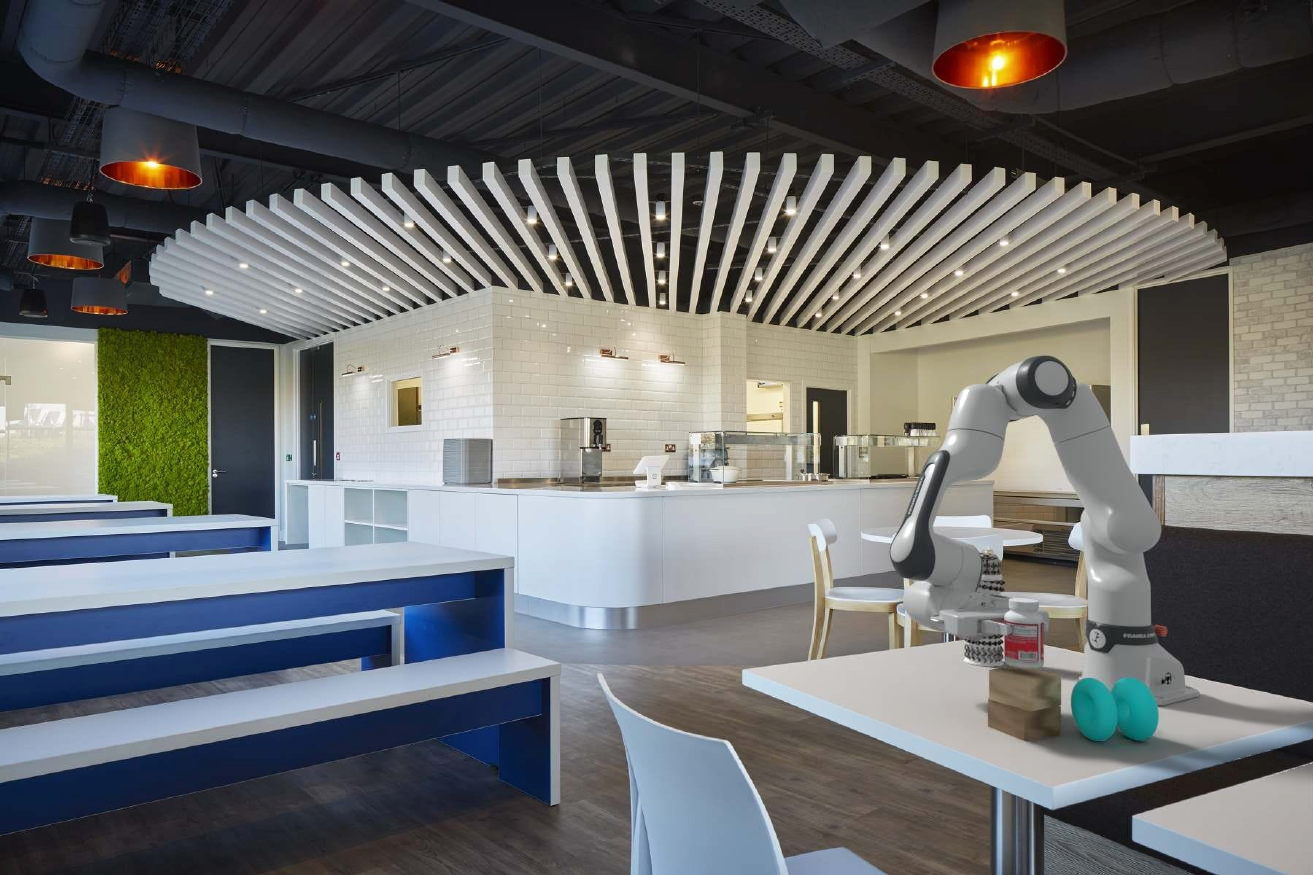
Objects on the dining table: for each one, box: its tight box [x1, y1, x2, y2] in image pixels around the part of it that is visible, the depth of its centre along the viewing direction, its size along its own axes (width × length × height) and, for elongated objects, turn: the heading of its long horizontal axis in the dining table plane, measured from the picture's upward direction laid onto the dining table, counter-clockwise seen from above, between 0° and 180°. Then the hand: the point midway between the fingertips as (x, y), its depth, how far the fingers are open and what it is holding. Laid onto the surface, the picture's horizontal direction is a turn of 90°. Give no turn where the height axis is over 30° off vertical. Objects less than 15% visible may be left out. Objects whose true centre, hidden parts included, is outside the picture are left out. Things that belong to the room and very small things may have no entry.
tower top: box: [988, 666, 1062, 712], centre depth 141 cm, size 8×8×5 cm
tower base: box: [987, 697, 1062, 742], centre depth 141 cm, size 8×8×5 cm
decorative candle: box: [963, 552, 1006, 668], centre depth 192 cm, size 9×9×25 cm
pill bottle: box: [1003, 597, 1045, 669], centre depth 141 cm, size 6×6×11 cm
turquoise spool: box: [1070, 677, 1160, 742], centre depth 137 cm, size 10×10×10 cm
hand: (1028, 629), depth 141 cm, fingers closed on pill bottle, 6 cm apart
